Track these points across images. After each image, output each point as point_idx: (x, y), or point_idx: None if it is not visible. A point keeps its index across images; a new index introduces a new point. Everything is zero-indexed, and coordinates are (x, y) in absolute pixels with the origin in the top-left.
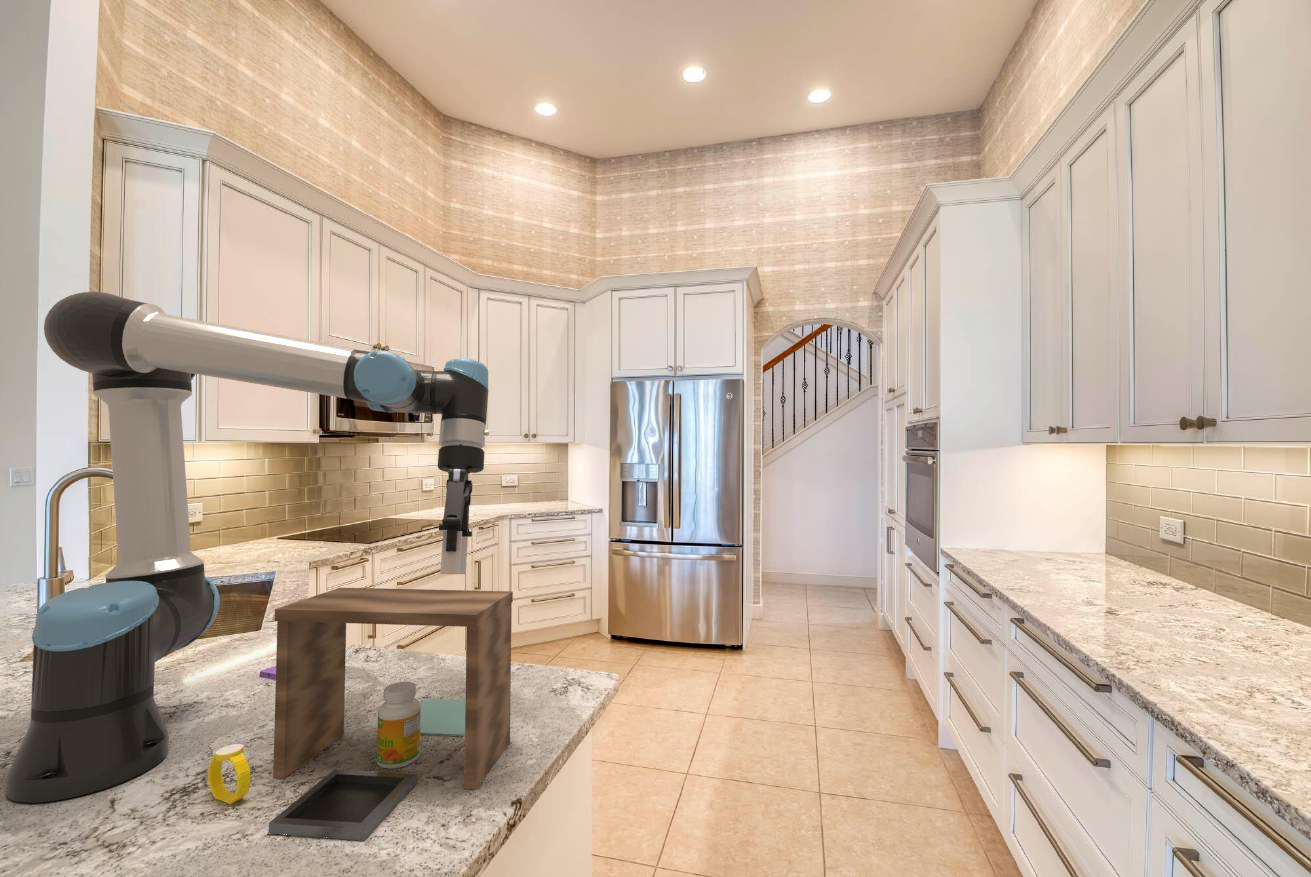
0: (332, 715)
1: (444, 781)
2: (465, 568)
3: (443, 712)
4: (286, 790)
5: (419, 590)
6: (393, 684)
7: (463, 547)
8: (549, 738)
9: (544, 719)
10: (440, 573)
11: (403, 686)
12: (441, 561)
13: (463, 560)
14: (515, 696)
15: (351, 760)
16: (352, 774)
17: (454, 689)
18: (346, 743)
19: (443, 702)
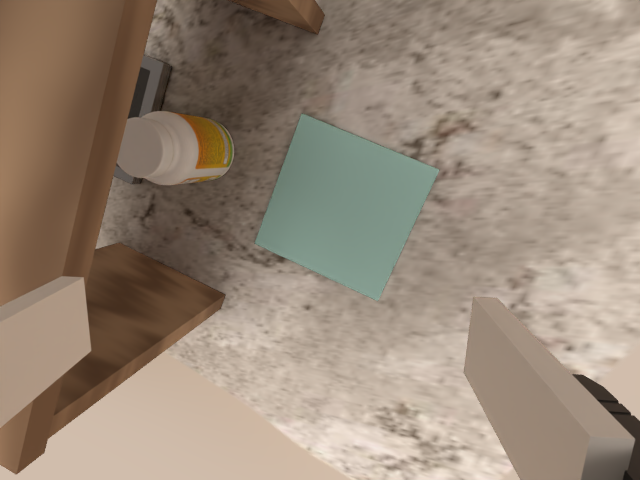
0: (270, 6)
1: (139, 218)
2: (473, 387)
3: (352, 209)
4: (156, 4)
5: (62, 188)
6: (152, 132)
7: (525, 458)
8: (221, 362)
9: (284, 368)
10: (59, 277)
11: (139, 154)
12: (19, 298)
13: (489, 403)
14: (398, 340)
15: (220, 76)
16: (145, 94)
17: (483, 226)
18: (280, 50)
19: (403, 207)
